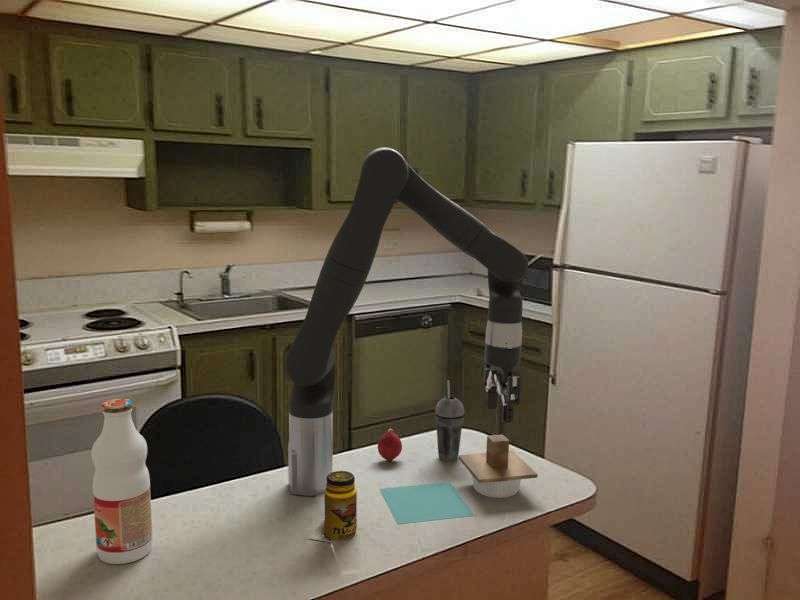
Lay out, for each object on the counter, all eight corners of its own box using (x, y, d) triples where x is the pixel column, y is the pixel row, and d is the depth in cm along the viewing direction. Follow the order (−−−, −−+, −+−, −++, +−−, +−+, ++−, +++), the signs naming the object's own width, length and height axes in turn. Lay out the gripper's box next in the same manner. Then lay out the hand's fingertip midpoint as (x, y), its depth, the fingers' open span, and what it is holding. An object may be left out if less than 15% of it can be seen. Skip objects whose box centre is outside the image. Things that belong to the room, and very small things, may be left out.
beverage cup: (468, 458, 173) (471, 378, 169) (454, 468, 167) (457, 385, 163) (442, 451, 177) (444, 373, 173) (427, 461, 171) (429, 380, 167)
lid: (479, 483, 147) (480, 452, 146) (458, 458, 160) (459, 429, 159) (537, 477, 151) (539, 447, 149) (512, 453, 163) (513, 425, 162)
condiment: (350, 547, 132) (350, 485, 130) (308, 539, 134) (307, 479, 132) (364, 528, 139) (364, 470, 136) (323, 521, 141) (323, 464, 139)
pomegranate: (399, 467, 167) (399, 434, 166) (374, 464, 168) (375, 432, 167) (403, 457, 173) (404, 426, 171) (380, 455, 174) (380, 424, 172)
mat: (397, 526, 139) (397, 524, 139) (379, 490, 155) (379, 488, 155) (475, 517, 143) (475, 515, 143) (449, 484, 159) (449, 481, 159)
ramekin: (531, 490, 157) (533, 467, 156) (502, 507, 148) (503, 483, 148) (490, 475, 164) (490, 453, 163) (459, 490, 156) (460, 467, 155)
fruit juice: (151, 562, 125) (143, 409, 120) (93, 568, 123) (83, 413, 118) (155, 535, 134) (148, 392, 129) (101, 541, 132) (91, 395, 127)
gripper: (474, 334, 156) (471, 405, 159) (499, 350, 143) (495, 428, 145) (506, 333, 158) (502, 403, 161) (534, 349, 144) (529, 425, 147)
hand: (499, 415), depth 153 cm, fingers open, 8 cm apart
